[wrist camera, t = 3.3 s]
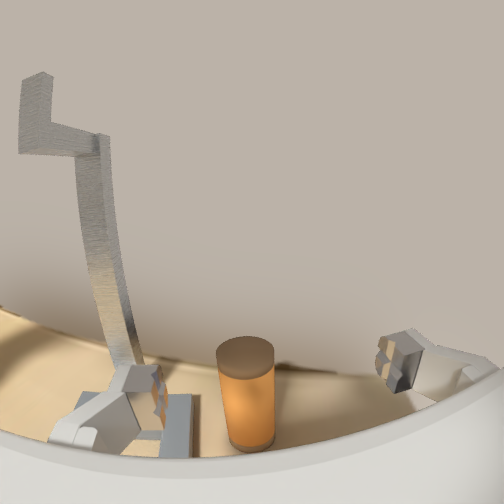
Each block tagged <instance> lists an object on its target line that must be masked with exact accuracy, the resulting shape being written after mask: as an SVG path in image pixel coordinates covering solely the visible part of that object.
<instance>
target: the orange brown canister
mask: <svg viewBox="0 0 504 504" xmlns="http://www.w3.org/2000/svg"><path fill="white" fill-rule="evenodd" d="M216 358H217V365H218V372H219V379H220V386H221V392H222V399H223V405H224V411H225V417H226V423H227V429H228V435H229V440H230V443H231V445H232V446H233V447H234V448H236V449H237V450H239V451H242V452H246V453H256V452H260V451H263V450H265V449H267V448H268V447H269V446H271V444H272V443H273V441H274V438H275V381H274V348H273V346H272V344H270V343H269V342H268V341H266V340H264V339H262V338H258V337H252V336H243V337H236V338H233V339H229V340H227V341H225V342H223V343H222V344H221V345H220V346H219V347H218V348H217V350H216Z"/></svg>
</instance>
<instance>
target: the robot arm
mask: <svg viewBox="0 0 504 504" xmlns="http://www.w3.org/2000/svg"><path fill="white" fill-rule="evenodd" d="M378 347H379V348H380V351H379V353H378V354H377V355H376V360H375V365H376V370H377V373H378V374H379V376H380V377H381V378H383V379H386V380H387V382H386V385H387V386H388V387H389V388H390V390H391V391H392V392H393V393H394V394H396V393H399V392H403V391H406V390H409V389H412V390H414V391H416V392H418V393H420V394H422V395H424V396H426V397H428V398H431V399H432V400H434V401H436V402H437V403H436V404H433V405H431V406H428V407H426V408H424V409H422V410H419V411H417V412H414V413H412V414H409V415H406V416H404V417H401V418H399V419H396V420H393V421H390V422H387V423H384V424H382V425H379V426H376V427H372V428H369V429H366V430H363V431H359V432H356V433H352V434H349V435H345V436H342V437H338V438H334V439H330V440H325V441H321V442H317V443H312V444H307V445H302V446H297V447H292V448H286V449H280V450H274V451H267V452H260V453H252V454H243V455H232V456H219V457H199V458H162V457H141V456H128V455H120V454H121V453H122V452H123V450H124V449H125V448H126V447H127V446H128V445H129V444H130V443H131V442H132V441H133V440H134V439H135V438H136V437H137V435H138V434H139V433H140V432H141V430H164V429H165V422H166V415H165V412H164V411H165V410H166V409H167V408H168V393H167V388H166V384H165V383H164V382H163V381H162V376H163V373H162V370H161V367H160V366H159V365H119V366H118V367H117V369H116V371H115V374H114V376H113V378H112V381H111V383H110V385H109V388H108V390H107V392H102V393H100V394H99V395H97V396H96V397H94V398H93V399H91V400H90V401H88V402H86V403H85V404H83V405H82V406H80V407H79V408H77V409H76V410H74V411H73V412H71V413H69V414H68V415H66V416H65V417H63V418H62V419H60V420H58V421H57V423H56V425H55V427H54V429H53V431H52V433H51V435H50V437H49V439H48V441H47V442H43V441H39V440H35V439H31V438H27V437H24V436H20V435H17V434H14V433H11V432H8V431H5V430H2V429H0V504H504V367H503V368H501V369H499V368H498V367H497V366H496V365H495V364H493V363H492V362H491V361H489V360H488V359H487V358H486V357H483V356H478V355H475V354H471V353H467V352H463V351H458V350H455V349H451V348H447V347H443V346H439V345H437V346H435V345H434V344H433V343H431V342H430V341H429V340H427V338H425V337H424V336H423V335H422V334H421V333H419V332H418V331H417V330H416V329H413V328H411V329H408V330H404V331H402V332H398V333H394V334H391V335H387V336H382V337H381V338H380V340H379V344H378Z"/></svg>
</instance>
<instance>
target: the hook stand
mask: <svg viewBox="0 0 504 504" xmlns="http://www.w3.org/2000/svg"><path fill="white" fill-rule="evenodd" d="M52 89H53V77H52V76H50V75H49V74H47V73H45V72H41V73H38V74H36V75H33V76H31V77H29V78H26V79H24V80H22V87H21V97H20V110H19V144H18V145H19V154H33V155H34V154H35V155H54V156H55V155H56V156H70V157H75V173H76V186H77V196H78V206H79V214H80V222H81V230H82V236H83V243H84V249H85V254H86V260H87V265H88V270H89V275H90V279H91V285H92V289H93V293H94V298H95V302H96V306H97V309H98V313H99V317H100V321H101V325H102V328H103V332H104V335H105V339H106V342H107V345H108V348H109V352H110V355H111V358H112V361H113V364H114V367H115V370H116V369H117V367H118V366H119V365H145V363H144V359H143V355H142V352H141V348H140V344H139V340H138V336H137V332H136V328H135V324H134V320H133V316H132V311H131V306H130V302H129V297H128V293H127V287H126V282H125V276H124V271H123V265H122V259H121V253H120V246H119V239H118V232H117V224H116V216H115V207H114V197H113V187H112V172H111V155H110V136H107V135H104V134H100V133H99V134H93V133H90V132H86V131H83V130H79V129H75V128H72V127H68V126H64V125H61V124H57V123H53V122H51V103H52Z"/></svg>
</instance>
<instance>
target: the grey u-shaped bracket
mask: <svg viewBox="0 0 504 504" xmlns="http://www.w3.org/2000/svg"><path fill="white" fill-rule="evenodd" d="M99 394H100V393H98V392H86V391H83V392H82V394H81V396H80V398H79V400H78V402H77V404H76V406H75V408H74V410H76V409H77V408H79V407H80V406H82V405H83V404H85V403H86V402H88V401H90V400H91V399H93V398H94V397H96V396H97V395H99ZM164 412H165V415H166V422H165V429H164V430H141V432H140V433H139V434H138V435H137V437H136V438H135V439H144V440H161V443H160V450H159V457H162V458H192V455H193V421H194V402H193V398H192V394H168V408H167V409H166V410H165V411H164Z"/></svg>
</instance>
